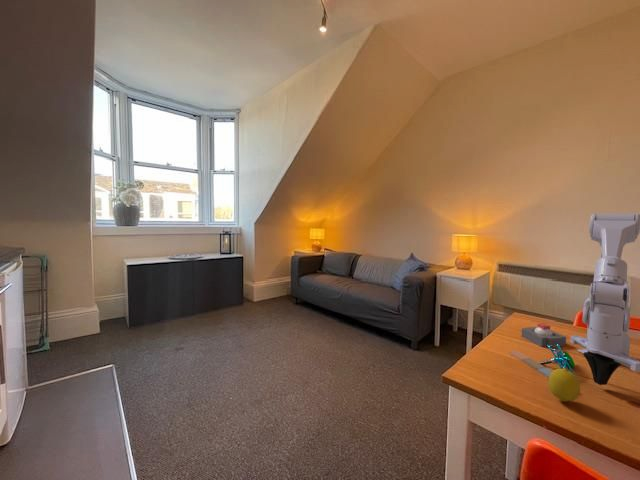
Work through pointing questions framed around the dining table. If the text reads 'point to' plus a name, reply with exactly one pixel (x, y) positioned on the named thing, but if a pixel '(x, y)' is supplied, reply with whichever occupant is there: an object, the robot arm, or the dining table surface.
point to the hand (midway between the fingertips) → (600, 383)
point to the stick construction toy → (561, 359)
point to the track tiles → (531, 363)
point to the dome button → (543, 329)
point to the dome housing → (543, 338)
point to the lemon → (564, 385)
